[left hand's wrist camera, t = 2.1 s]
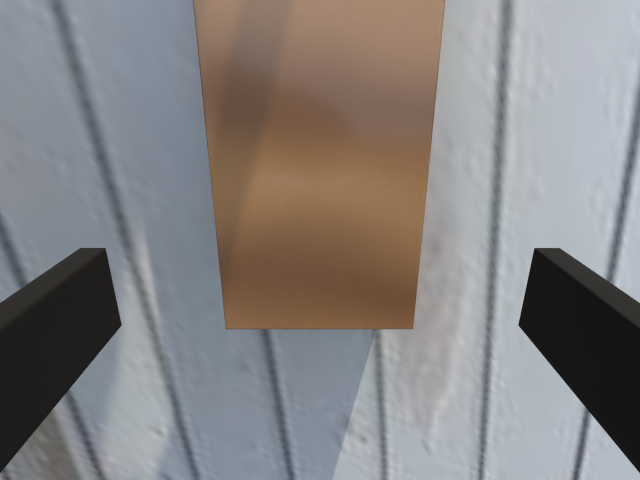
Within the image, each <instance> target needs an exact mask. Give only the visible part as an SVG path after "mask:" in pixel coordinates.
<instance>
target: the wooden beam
mask: <svg viewBox="0 0 640 480" xmlns="http://www.w3.org/2000/svg"><path fill="white" fill-rule="evenodd" d="M193 3H194V13H195V24H196V34H197V44H198V54H199V64H200V74H201V84H202V94H203V104H204V114H205V124H206V134H207V144H208V154H209V164H210V174H211V185H212V195H213V205H214V215H215V225H216V235H217V245H218V255H219V265H220V275H221V285H222V295H223V305H224V315H225V325H226V329H413V323H414V313H415V303H416V293H417V283H418V272H419V262H420V252H421V242H422V232H423V222H424V211H425V201H426V191H427V181H428V171H429V160H430V150H431V140H432V130H433V120H434V109H435V99H436V89H437V79H438V69H439V58H440V48H441V38H442V28H443V18H444V7H445V0H193Z"/></svg>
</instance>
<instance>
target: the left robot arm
mask: <svg viewBox="0 0 640 480" xmlns="http://www.w3.org/2000/svg"><path fill="white" fill-rule="evenodd" d="M120 327H121V320H120V316H119V311H118V306H117V301H116V296H115V292H114V287H113V282H112V277H111V272H110V268H109V263H108V258H107V253H106V248H80V249H78V250H77V251H76V252H74V253H73V254H71V255H70V256H68V257H67V258H65V259H64V260H62V261H61V262H60V263H58V264H57V265H55V266H54V267H52V268H51V269H49V270H48V271H46V272H45V273H43V274H42V275H41V276H39V277H38V278H36V279H35V280H33V281H32V282H30V283H29V284H27V285H26V286H25V287H23V288H22V289H20V290H19V291H17V292H16V293H14V294H13V295H11V296H10V297H8V298H7V299H6V300H4V301H3V302H1V303H0V473H1V471H2V470H3V469H4V468H5V466H6V465H7V464H8V463H9V462H10V460H11V459H12V458H13V457H14V456H15V454H16V453H17V452H18V451H19V449H20V448H21V447H22V446H23V445H24V443H25V442H26V441H27V440H28V438H29V437H30V436H31V435H32V434H33V432H34V431H35V430H36V429H37V428H38V426H39V425H40V424H41V423H42V421H43V420H44V419H45V418H46V417H47V415H48V414H49V413H50V412H51V411H52V409H53V408H54V407H55V406H56V404H57V403H58V402H59V401H60V400H61V398H62V397H63V396H64V395H65V393H66V392H67V391H68V390H69V389H70V387H71V386H72V385H73V384H74V383H75V381H76V380H77V379H78V378H79V376H80V375H81V374H82V373H83V372H84V370H85V369H86V368H87V367H88V365H89V364H90V363H91V362H92V361H93V359H94V358H95V357H96V356H97V355H98V353H99V352H100V351H101V350H102V348H103V347H104V346H105V345H106V344H107V342H108V341H109V340H110V339H111V337H112V336H113V335H114V334H115V333H116V331H117V330H118V329H119V328H120ZM519 327H520V328H521V329H522V330H523V331H524V333H525V334H526V335H527V336H528V337H529V339H530V340H531V341H532V342H533V344H534V345H535V346H536V347H537V348H538V350H539V351H540V352H541V353H542V355H543V356H544V357H545V358H546V359H547V361H548V362H549V363H550V364H551V365H552V367H553V368H554V369H555V370H556V372H557V373H558V374H559V375H560V376H561V378H562V379H563V380H564V381H565V383H566V384H567V385H568V386H569V387H570V389H571V390H572V391H573V392H574V393H575V395H576V396H577V397H578V398H579V400H580V401H581V402H582V403H583V404H584V406H585V407H586V408H587V409H588V411H589V412H590V413H591V414H592V415H593V417H594V418H595V419H596V420H597V421H598V423H599V424H600V425H601V426H602V428H603V429H604V430H605V431H606V432H607V434H608V435H609V436H610V437H611V438H612V440H613V441H614V442H615V443H616V445H617V446H618V447H619V448H620V449H621V451H622V452H623V453H624V454H625V456H626V457H627V458H628V459H629V460H630V462H631V463H632V464H633V465H634V466H635V468H636V469H637V470H638V471H639V473H640V303H639V302H637V301H636V300H634V299H633V298H631V297H630V296H629V295H627V294H626V293H624V292H623V291H621V290H620V289H618V288H617V287H615V286H614V285H613V284H611V283H610V282H608V281H607V280H605V279H604V278H602V277H601V276H599V275H598V274H597V273H595V272H594V271H592V270H591V269H589V268H588V267H586V266H585V265H583V264H582V263H580V262H579V261H578V260H576V259H575V258H573V257H572V256H570V255H569V254H567V253H566V252H564V251H563V250H562V249H560V248H534V253H533V258H532V263H531V268H530V272H529V277H528V282H527V287H526V292H525V296H524V301H523V306H522V311H521V316H520V320H519Z"/></svg>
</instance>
